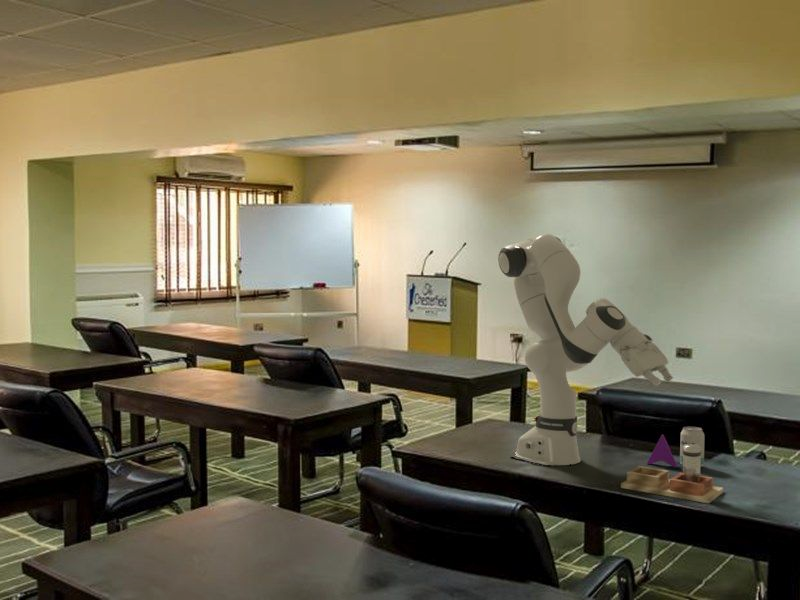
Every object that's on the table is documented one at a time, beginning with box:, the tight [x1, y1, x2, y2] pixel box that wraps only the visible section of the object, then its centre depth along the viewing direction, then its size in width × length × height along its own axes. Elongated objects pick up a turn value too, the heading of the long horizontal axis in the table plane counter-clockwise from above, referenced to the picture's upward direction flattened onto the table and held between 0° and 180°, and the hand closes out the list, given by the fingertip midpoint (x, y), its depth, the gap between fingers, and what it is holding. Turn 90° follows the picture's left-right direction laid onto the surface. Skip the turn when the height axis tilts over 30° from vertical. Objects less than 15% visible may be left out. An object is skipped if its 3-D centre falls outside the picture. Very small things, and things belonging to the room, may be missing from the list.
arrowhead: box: [646, 434, 678, 469], centre depth 246 cm, size 10×2×10 cm
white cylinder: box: [682, 444, 701, 483], centre depth 216 cm, size 5×5×12 cm
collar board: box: [620, 465, 724, 504], centre depth 220 cm, size 24×13×4 cm, turn 52°
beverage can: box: [679, 426, 705, 468], centre depth 244 cm, size 7×7×12 cm
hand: (664, 382), depth 223 cm, fingers open, 8 cm apart
